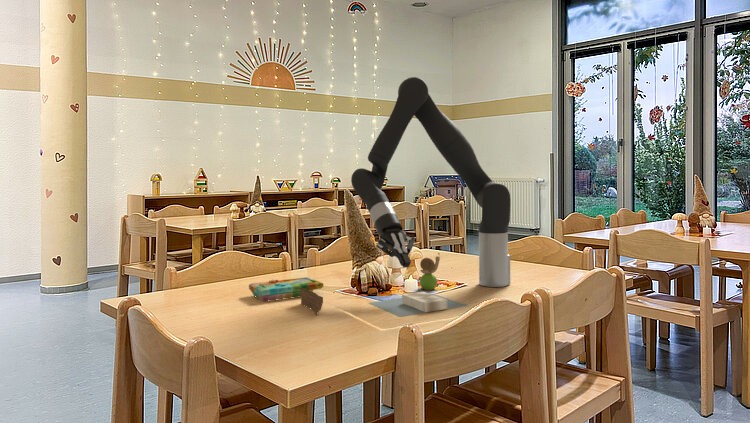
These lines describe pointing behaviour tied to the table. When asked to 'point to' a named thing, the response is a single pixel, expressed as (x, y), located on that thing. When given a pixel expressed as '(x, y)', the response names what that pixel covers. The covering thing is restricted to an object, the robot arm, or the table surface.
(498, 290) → the table surface
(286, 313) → the table surface
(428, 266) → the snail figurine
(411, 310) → the felt mat
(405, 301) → the picture domino
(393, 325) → the table surface
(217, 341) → the table surface
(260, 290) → the puzzle game
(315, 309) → the wood plank
